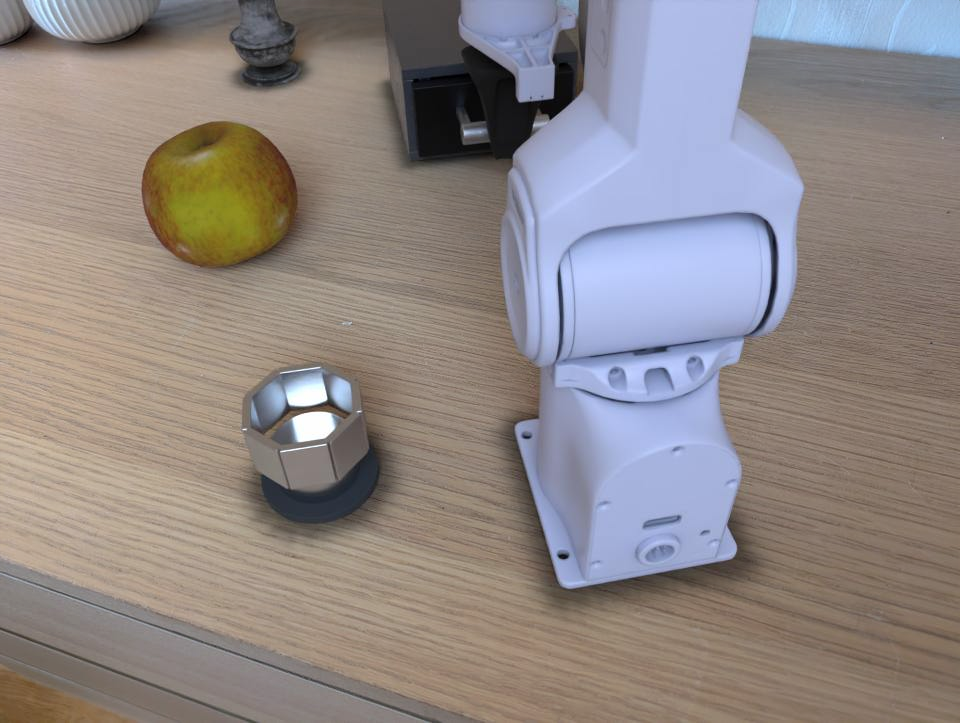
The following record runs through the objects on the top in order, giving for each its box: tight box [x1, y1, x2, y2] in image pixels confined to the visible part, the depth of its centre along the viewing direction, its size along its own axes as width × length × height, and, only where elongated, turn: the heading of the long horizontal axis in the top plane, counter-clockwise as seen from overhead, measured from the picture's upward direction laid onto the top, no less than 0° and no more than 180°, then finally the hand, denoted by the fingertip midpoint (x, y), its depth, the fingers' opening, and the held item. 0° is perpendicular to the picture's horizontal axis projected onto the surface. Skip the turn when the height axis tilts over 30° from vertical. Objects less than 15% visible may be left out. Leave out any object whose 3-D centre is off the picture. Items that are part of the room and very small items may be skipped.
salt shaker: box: [228, 0, 302, 87], centre depth 69 cm, size 6×6×12 cm
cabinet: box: [381, 0, 579, 162], centre depth 64 cm, size 14×13×7 cm
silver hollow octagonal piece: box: [241, 361, 370, 503], centre depth 38 cm, size 5×5×5 cm
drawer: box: [411, 65, 574, 158], centre depth 62 cm, size 17×11×5 cm
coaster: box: [260, 441, 380, 525], centre depth 39 cm, size 6×6×1 cm
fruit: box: [141, 120, 298, 268], centre depth 51 cm, size 10×9×8 cm
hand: (509, 155), depth 55 cm, fingers closed
